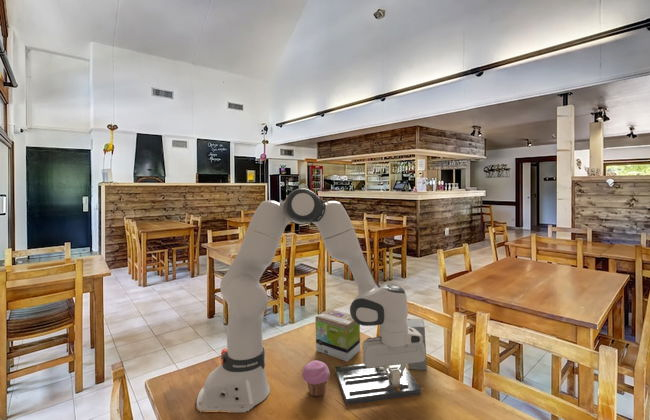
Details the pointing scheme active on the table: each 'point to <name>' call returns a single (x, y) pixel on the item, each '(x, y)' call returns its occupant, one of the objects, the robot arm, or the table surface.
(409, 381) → the console
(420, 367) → the skincare box
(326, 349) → the tea box
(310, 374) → the cupcake
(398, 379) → the fader knob
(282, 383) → the table surface
